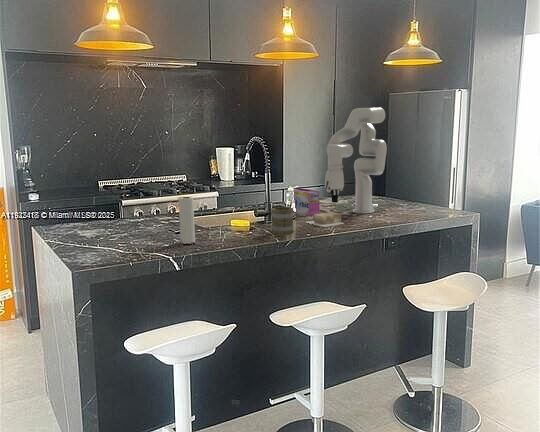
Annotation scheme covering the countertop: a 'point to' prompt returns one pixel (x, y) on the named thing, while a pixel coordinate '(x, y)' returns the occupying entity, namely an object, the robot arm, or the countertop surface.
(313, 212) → the gum box
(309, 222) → the mat
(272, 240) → the countertop surface
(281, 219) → the mug
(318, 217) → the sponge
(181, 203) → the paper towel roll
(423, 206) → the countertop surface
